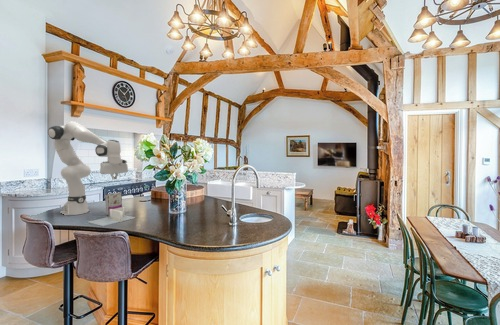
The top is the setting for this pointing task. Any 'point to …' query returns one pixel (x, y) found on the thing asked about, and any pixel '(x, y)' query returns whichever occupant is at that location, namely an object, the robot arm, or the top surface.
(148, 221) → the top surface
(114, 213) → the panel
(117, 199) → the candy bar box
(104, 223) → the mat
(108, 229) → the top surface
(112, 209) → the fixed fence
